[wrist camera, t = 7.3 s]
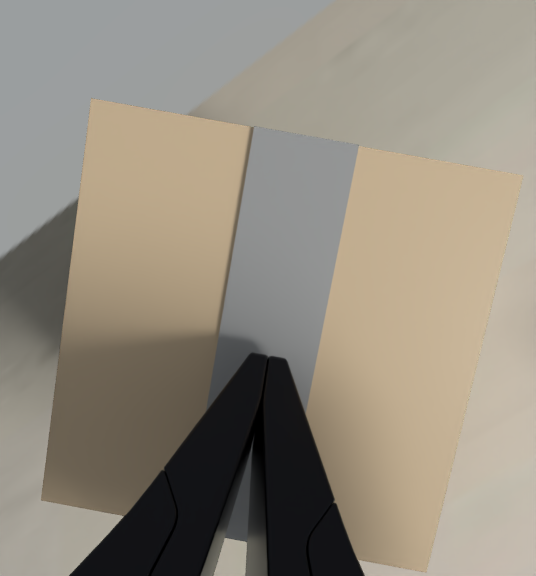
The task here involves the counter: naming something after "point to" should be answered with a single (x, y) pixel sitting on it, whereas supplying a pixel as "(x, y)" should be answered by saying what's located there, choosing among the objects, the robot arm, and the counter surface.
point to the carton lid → (274, 310)
